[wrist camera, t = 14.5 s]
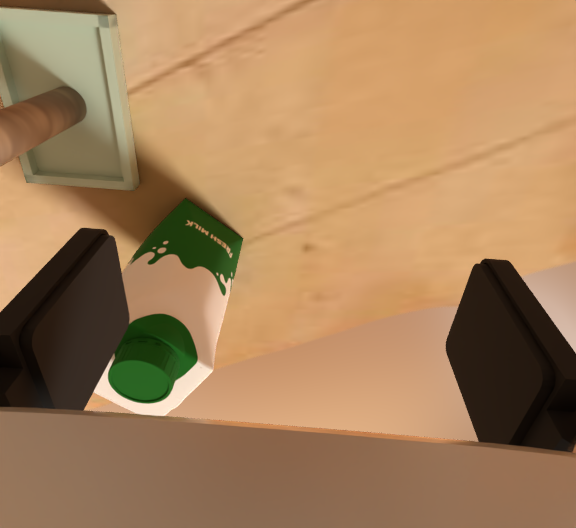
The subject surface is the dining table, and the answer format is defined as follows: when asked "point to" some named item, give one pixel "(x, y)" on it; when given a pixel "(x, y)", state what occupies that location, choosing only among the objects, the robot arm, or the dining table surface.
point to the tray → (81, 77)
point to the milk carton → (172, 311)
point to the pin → (38, 120)
